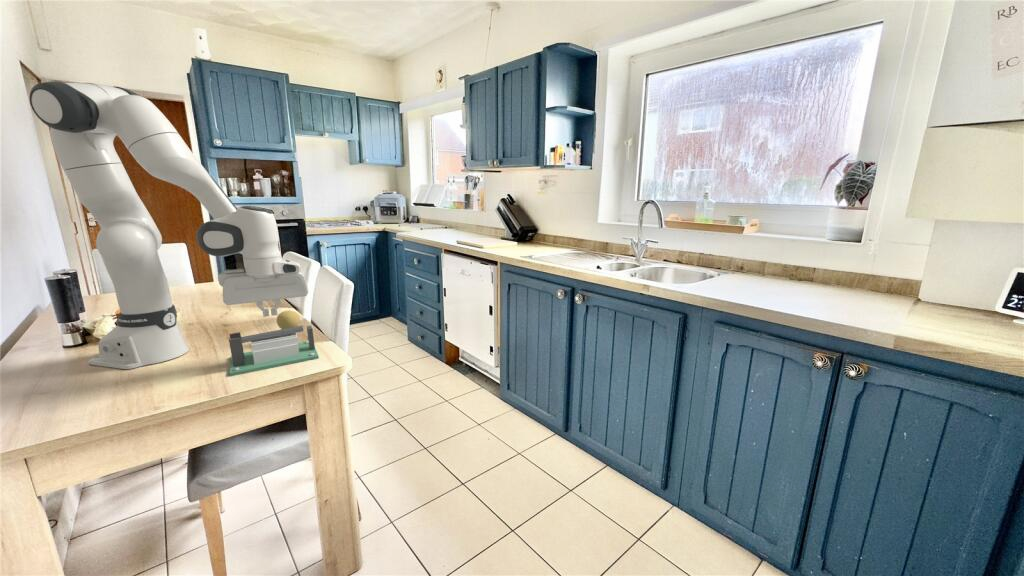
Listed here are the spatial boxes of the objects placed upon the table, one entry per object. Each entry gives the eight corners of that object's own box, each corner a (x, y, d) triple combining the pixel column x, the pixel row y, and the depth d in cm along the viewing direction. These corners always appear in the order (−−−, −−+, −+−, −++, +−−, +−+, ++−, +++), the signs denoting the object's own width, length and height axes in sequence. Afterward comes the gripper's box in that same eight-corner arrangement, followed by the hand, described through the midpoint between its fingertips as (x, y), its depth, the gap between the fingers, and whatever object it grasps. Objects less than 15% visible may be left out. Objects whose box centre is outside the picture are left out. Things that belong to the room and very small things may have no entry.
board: (230, 376, 104) (224, 345, 102) (231, 357, 115) (226, 329, 113) (318, 358, 115) (315, 330, 113) (312, 342, 126) (309, 317, 124)
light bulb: (292, 345, 124) (288, 314, 122) (275, 343, 126) (270, 313, 123) (307, 338, 130) (303, 308, 128) (289, 336, 132) (285, 307, 129)
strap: (233, 345, 108) (233, 341, 107) (234, 341, 110) (233, 338, 110) (303, 331, 116) (303, 328, 116) (302, 328, 119) (302, 325, 119)
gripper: (216, 272, 101) (224, 324, 104) (306, 265, 112) (311, 312, 115) (217, 268, 106) (225, 318, 109) (303, 262, 117) (308, 307, 120)
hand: (270, 315), depth 112 cm, fingers closed
